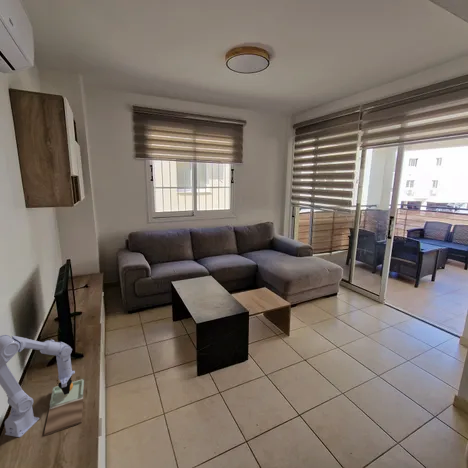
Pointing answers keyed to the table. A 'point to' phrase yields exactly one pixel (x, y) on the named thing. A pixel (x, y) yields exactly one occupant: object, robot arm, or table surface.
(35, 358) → the table surface
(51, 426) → the lane
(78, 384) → the tray
